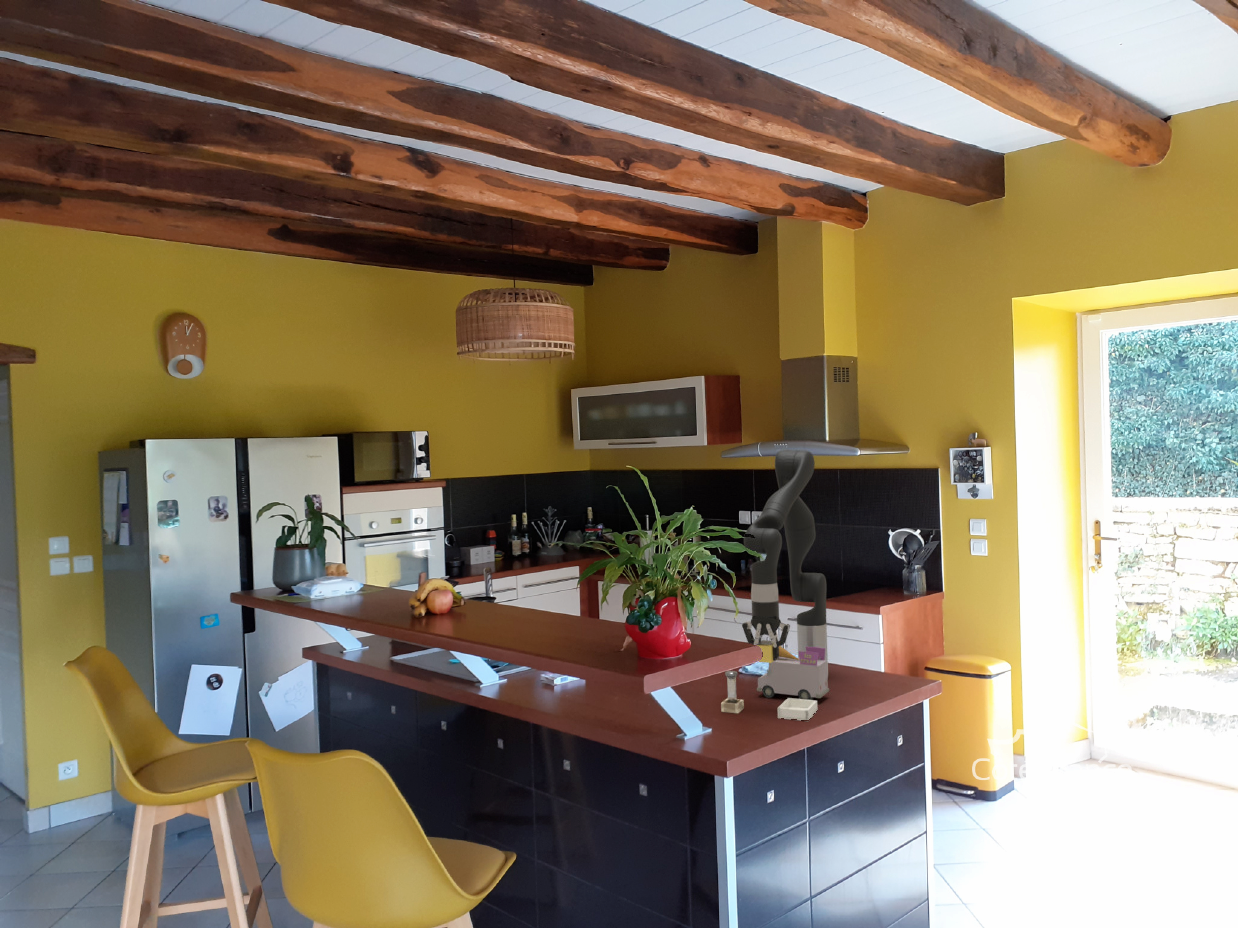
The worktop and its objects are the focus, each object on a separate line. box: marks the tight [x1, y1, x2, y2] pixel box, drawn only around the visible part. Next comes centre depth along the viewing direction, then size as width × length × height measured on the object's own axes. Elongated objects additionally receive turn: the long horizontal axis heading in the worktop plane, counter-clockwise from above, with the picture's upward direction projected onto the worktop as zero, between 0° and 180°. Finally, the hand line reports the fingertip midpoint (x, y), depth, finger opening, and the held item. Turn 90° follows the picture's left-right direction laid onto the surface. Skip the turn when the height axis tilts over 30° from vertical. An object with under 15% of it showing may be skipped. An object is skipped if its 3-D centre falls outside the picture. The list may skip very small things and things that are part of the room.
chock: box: [757, 639, 774, 664], centre depth 262 cm, size 5×4×5 cm
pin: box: [725, 670, 738, 704], centre depth 263 cm, size 3×3×11 cm
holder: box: [720, 697, 745, 714], centre depth 263 cm, size 5×5×2 cm
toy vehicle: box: [756, 646, 830, 700], centre depth 274 cm, size 9×20×15 cm, turn 59°
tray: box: [777, 697, 819, 721], centre depth 257 cm, size 10×8×3 cm
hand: (767, 658), depth 262 cm, fingers closed on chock, 4 cm apart
